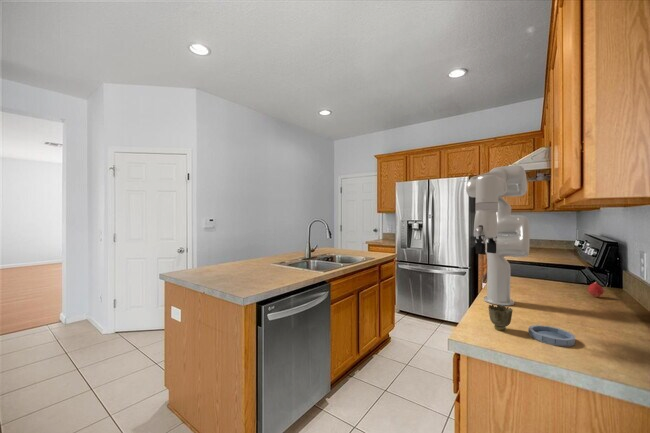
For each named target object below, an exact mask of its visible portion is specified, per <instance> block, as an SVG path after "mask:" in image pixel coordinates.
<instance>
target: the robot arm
mask: <svg viewBox="0 0 650 433" xmlns="http://www.w3.org/2000/svg"><path fill="white" fill-rule="evenodd" d="M465 188H466V189H465V190H466V191H465V192H466V194H467V196H469V197H470V198H475V207H474V208H475V214H474V222H473V223H474V224H473V237H474V239H475V241H474V242H475V254H476V255H486V259H487V260H486V262H487V264H486V265H487V266H486V268H487V271H486V273H487V274H486V284H487V285H486V295H485V296H483V301H484V302H486V303H488V304H490V305H492V304H493V305H496V306H497V305H500V306H502V305H504V306H505V307H509V306H514V305H515V301H514V300H513V299H511V276H512V275H511V274H512V273H511V270H512V269H511V264H510V262H509V261H508V259H506V258H505V257H510V258H527V257H528V255H529V253H530V241H531V240H530V236H531V229H530V228H531V226H530V220H529V218H528V217H527V216H526V215H521V214H519V215H518V214H517V215H513V214H512V206H511V205H510V203H509V202H508V201H507V200H505V199H504V197H505V198H507V197H508V198H509V197H522V196H525V195H526V194H527V192H528V180H527V173H526V170H525V168H524V167H523V166H522V165H519V164H517V165H515V164H514V165H506V166H498V167H493V168H492V169H491V170H489V171H488V172H486V173H485V172H484V173H481V174H478V175H474V176H472V177H470V179H468V181H467V183H466V186H465Z"/></svg>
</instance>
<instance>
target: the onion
mask: <svg viewBox="0 0 650 433" xmlns="http://www.w3.org/2000/svg"><path fill="white" fill-rule="evenodd" d="M587 292H588V293H589V294H590V295H591V296H593V297H594V298H599V297H600V296H602V295H603V294H604V293H605V292H604V288H603V287H602V285H600V284H599V283H598V282H597V281H595V282H593V283H591V284H589V286H588V287H587Z"/></svg>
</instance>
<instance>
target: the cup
mask: <svg viewBox="0 0 650 433" xmlns="http://www.w3.org/2000/svg"><path fill="white" fill-rule="evenodd" d="M494 305H495V304H488V314H489V319H490V322H491V323H492V324H493V327H494V328H495V330H497V331H500V332H501V331H502V332H505V331H506V330H507V327H508V326H509V325H510V324H511V322H512V316H513V308H511V307H509V306H504V305H496V306H494Z"/></svg>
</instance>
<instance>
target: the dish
mask: <svg viewBox="0 0 650 433" xmlns="http://www.w3.org/2000/svg"><path fill="white" fill-rule="evenodd" d="M528 335H529V337H530V338H532V339H534V340H536V341H538V342H541V343H544V344H546V345H552V346H556V347H566V348H567V347H574V346H575V345H576V335H574V334H573V333H571V332H570V331H567V330H564V329H561V328H558V327H554V326H549V325H542V324H541V325H540V324H535V325H534V324H533V325H529V327H528Z"/></svg>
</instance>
